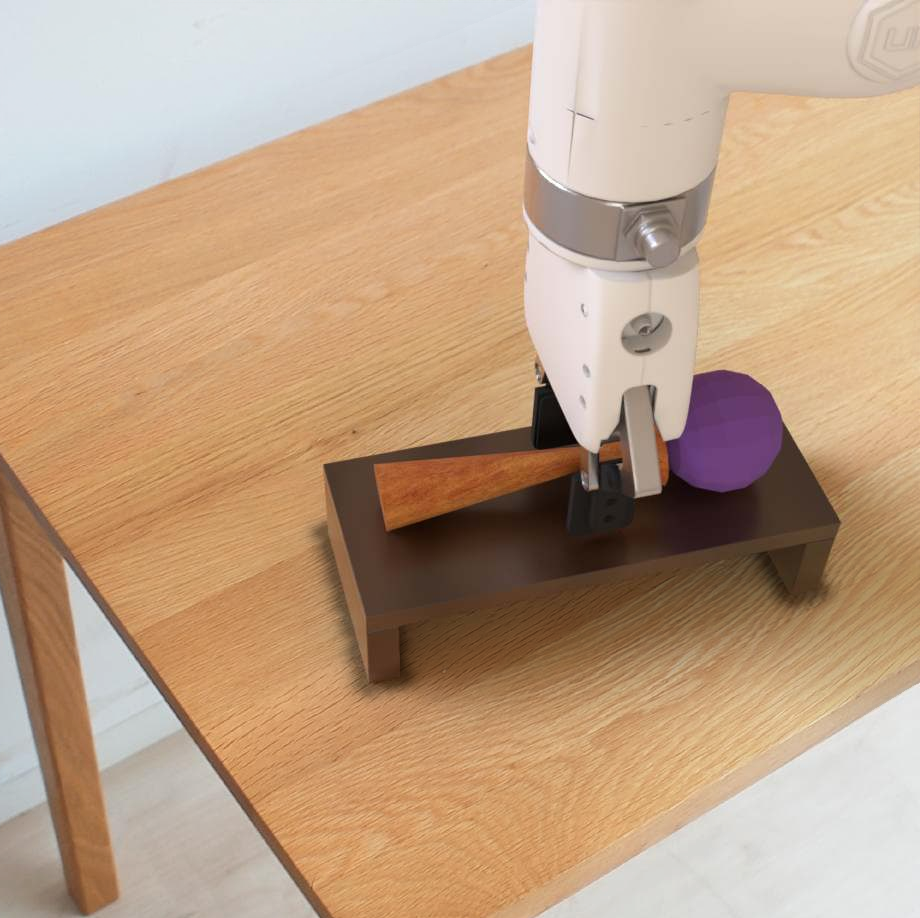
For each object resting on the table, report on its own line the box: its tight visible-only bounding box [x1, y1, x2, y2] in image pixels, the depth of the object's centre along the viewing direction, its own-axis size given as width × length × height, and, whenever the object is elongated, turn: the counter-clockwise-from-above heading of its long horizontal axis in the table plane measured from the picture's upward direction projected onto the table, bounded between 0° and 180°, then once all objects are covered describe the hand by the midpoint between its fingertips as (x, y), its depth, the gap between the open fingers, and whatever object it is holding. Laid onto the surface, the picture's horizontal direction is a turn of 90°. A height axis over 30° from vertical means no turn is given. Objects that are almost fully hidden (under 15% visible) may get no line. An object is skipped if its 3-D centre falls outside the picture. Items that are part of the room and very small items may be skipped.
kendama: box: [374, 369, 784, 531], centre depth 71 cm, size 6×6×20 cm
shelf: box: [322, 383, 842, 684], centre depth 75 cm, size 24×10×6 cm, turn 104°
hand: (580, 480), depth 72 cm, fingers closed on kendama, 5 cm apart
